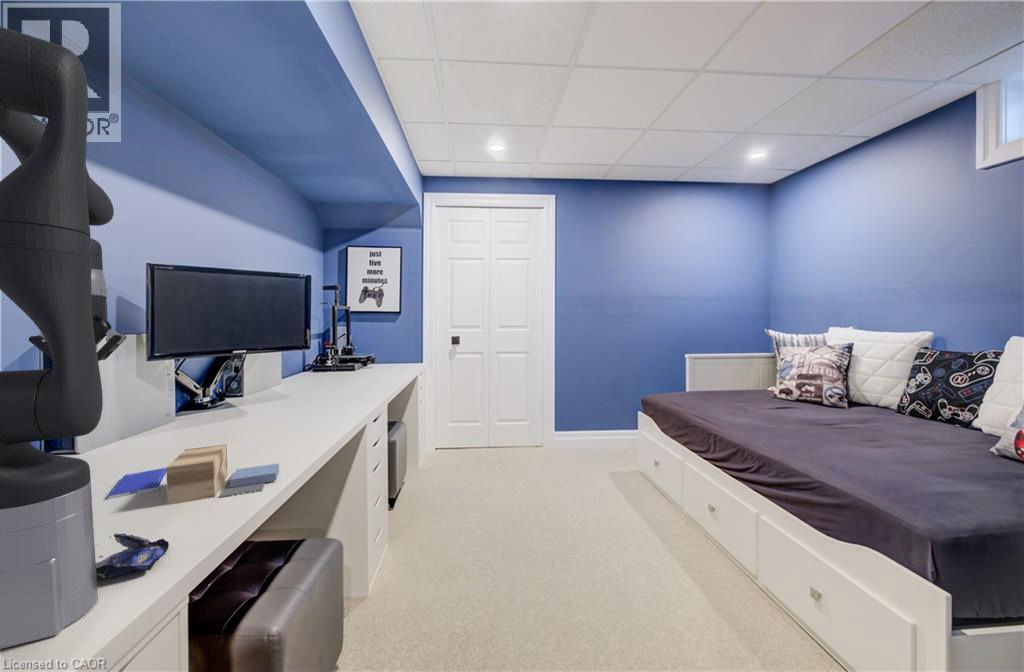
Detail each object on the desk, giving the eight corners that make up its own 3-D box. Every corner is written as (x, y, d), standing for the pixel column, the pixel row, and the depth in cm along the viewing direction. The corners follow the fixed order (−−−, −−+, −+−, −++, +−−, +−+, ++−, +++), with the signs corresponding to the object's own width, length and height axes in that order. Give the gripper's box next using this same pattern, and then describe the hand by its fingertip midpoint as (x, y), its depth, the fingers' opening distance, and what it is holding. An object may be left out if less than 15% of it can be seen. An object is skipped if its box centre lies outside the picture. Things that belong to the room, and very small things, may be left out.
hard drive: (123, 474, 93) (107, 495, 83) (167, 467, 98) (157, 485, 88) (123, 481, 93) (107, 502, 83) (168, 473, 98) (158, 492, 88)
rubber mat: (262, 490, 87) (262, 489, 87) (219, 497, 84) (219, 496, 84) (270, 468, 100) (270, 467, 100) (233, 473, 97) (233, 472, 97)
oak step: (214, 496, 84) (213, 461, 84) (168, 504, 81) (166, 467, 80) (227, 476, 95) (226, 444, 95) (187, 481, 92) (185, 449, 91)
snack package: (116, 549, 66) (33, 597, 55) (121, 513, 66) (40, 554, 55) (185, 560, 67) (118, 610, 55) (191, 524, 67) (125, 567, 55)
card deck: (230, 479, 88) (230, 488, 88) (275, 472, 92) (276, 481, 92) (236, 469, 94) (236, 477, 94) (279, 463, 97) (279, 471, 98)
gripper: (10, 291, 66) (17, 390, 67) (114, 293, 71) (119, 384, 72) (40, 293, 72) (46, 383, 73) (133, 294, 78) (137, 378, 79)
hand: (82, 384), depth 73 cm, fingers closed
